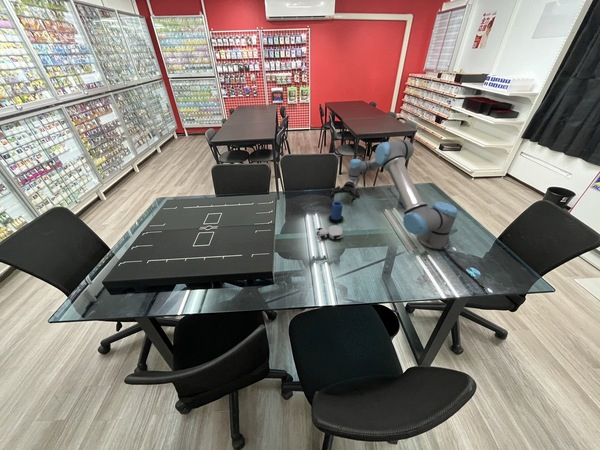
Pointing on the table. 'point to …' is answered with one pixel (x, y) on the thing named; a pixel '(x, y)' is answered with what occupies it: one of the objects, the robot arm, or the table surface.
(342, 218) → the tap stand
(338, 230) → the robot toy
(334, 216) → the blue sleeve
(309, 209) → the table surface
